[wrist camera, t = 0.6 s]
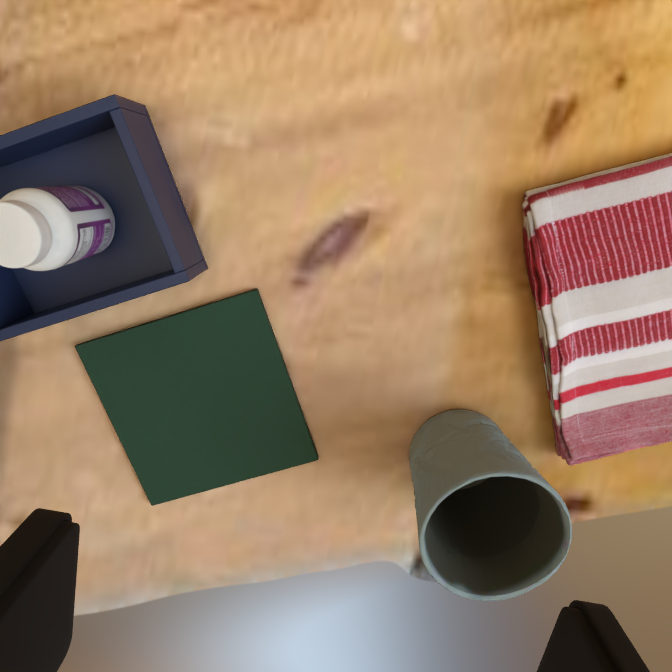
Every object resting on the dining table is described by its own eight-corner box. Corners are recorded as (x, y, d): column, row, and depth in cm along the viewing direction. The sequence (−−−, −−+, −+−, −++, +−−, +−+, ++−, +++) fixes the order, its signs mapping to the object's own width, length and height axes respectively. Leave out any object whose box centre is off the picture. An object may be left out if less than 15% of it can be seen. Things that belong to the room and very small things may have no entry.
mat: (78, 344, 44) (74, 346, 43) (257, 288, 42) (256, 289, 42) (153, 502, 48) (151, 506, 48) (318, 456, 47) (318, 460, 46)
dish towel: (555, 458, 46) (568, 474, 44) (512, 194, 40) (523, 195, 37) (752, 414, 45) (777, 428, 42) (741, 132, 38) (769, 129, 36)
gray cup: (390, 489, 47) (405, 589, 36) (415, 388, 45) (440, 461, 33) (498, 507, 48) (547, 612, 36) (530, 408, 45) (594, 488, 33)
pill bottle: (35, 202, 40) (-57, 210, 31) (95, 174, 39) (19, 173, 30) (71, 267, 41) (-6, 292, 32) (130, 240, 41) (68, 259, 32)
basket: (-43, 172, 40) (-101, 171, 35) (145, 105, 38) (114, 94, 33) (33, 324, 43) (-9, 344, 38) (208, 268, 42) (189, 281, 37)
